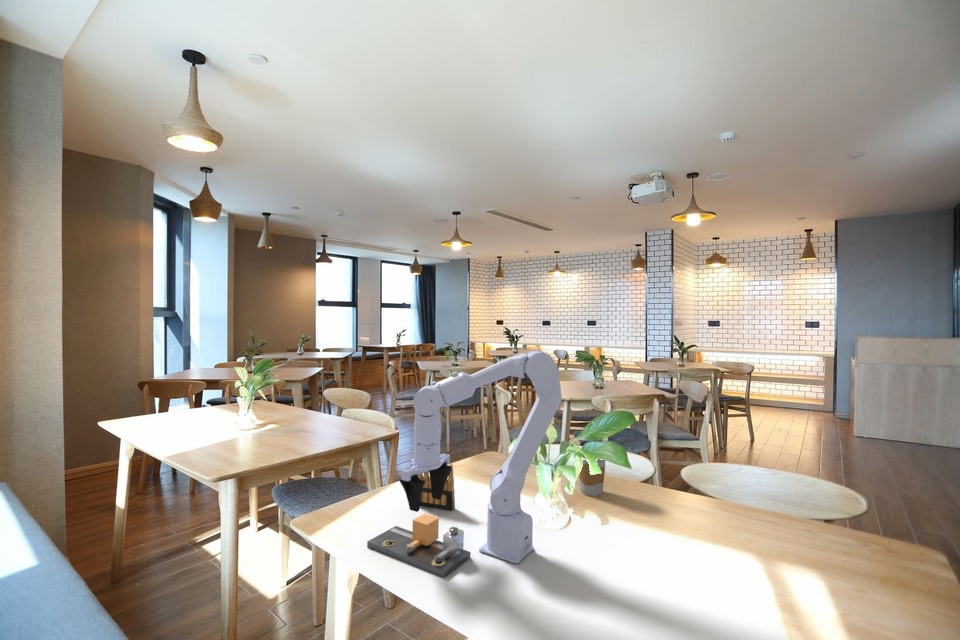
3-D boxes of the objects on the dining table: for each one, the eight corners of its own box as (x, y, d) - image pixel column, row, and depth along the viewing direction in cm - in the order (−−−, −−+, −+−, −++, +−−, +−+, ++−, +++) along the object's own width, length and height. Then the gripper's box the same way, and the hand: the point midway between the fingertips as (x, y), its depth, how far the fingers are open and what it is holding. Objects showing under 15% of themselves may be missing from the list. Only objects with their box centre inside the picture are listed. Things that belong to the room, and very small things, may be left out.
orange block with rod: (438, 538, 101) (438, 518, 101) (414, 553, 94) (414, 532, 94) (424, 533, 103) (424, 513, 103) (399, 548, 96) (400, 526, 96)
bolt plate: (470, 557, 96) (470, 529, 96) (444, 577, 88) (445, 546, 88) (395, 531, 107) (396, 505, 107) (367, 546, 100) (367, 519, 100)
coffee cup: (609, 491, 135) (610, 440, 135) (601, 500, 128) (602, 446, 128) (582, 485, 139) (583, 435, 139) (572, 493, 132) (573, 442, 132)
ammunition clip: (454, 508, 121) (455, 463, 121) (452, 511, 119) (453, 465, 119) (417, 503, 124) (418, 458, 124) (414, 505, 122) (415, 460, 122)
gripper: (433, 432, 108) (432, 489, 108) (390, 446, 96) (388, 511, 96) (457, 437, 104) (456, 496, 104) (416, 452, 92) (414, 519, 92)
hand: (425, 504), depth 100 cm, fingers open, 7 cm apart
